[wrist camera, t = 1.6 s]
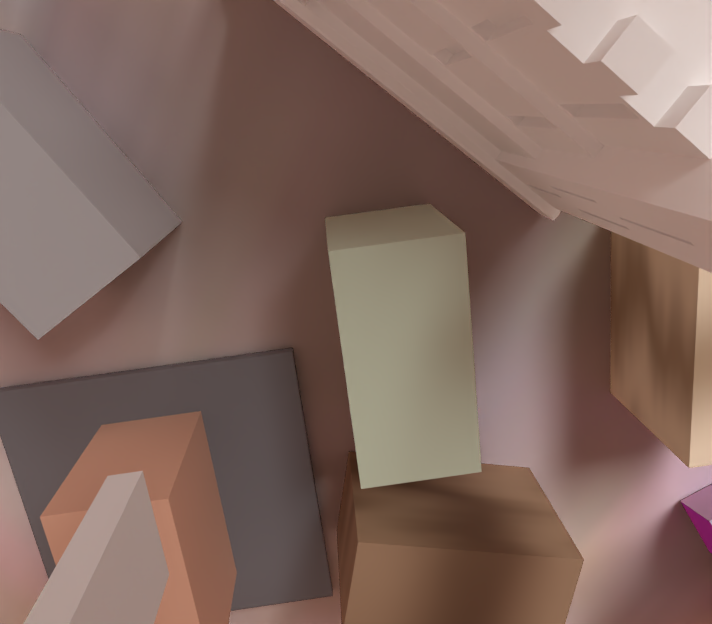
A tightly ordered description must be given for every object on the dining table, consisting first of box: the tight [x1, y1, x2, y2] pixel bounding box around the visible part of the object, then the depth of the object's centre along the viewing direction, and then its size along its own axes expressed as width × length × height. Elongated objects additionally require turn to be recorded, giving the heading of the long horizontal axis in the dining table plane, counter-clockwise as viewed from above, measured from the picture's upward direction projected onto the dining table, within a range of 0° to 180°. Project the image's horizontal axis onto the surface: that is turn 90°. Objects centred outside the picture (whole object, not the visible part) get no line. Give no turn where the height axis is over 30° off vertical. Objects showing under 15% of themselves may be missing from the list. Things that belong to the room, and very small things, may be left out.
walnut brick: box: [337, 451, 584, 624], centre depth 25 cm, size 8×4×6 cm, turn 82°
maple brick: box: [610, 231, 712, 468], centre depth 23 cm, size 8×4×6 cm, turn 7°
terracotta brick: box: [40, 411, 237, 624], centre depth 24 cm, size 8×4×6 cm, turn 7°
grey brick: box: [0, 29, 182, 340], centre depth 20 cm, size 8×4×6 cm, turn 37°
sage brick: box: [325, 204, 482, 489], centre depth 22 cm, size 8×4×6 cm, turn 7°
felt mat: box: [0, 348, 333, 611], centre depth 27 cm, size 12×12×1 cm
